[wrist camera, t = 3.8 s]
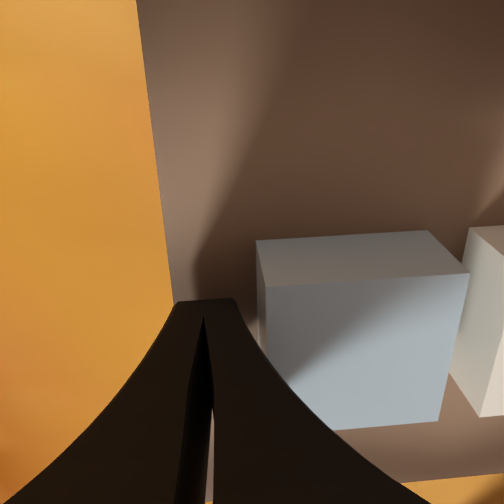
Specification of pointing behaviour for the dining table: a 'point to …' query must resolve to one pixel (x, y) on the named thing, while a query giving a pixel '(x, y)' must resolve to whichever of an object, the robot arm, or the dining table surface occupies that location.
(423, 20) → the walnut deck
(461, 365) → the cream tile
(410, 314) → the grey blue tile
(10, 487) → the dining table surface
